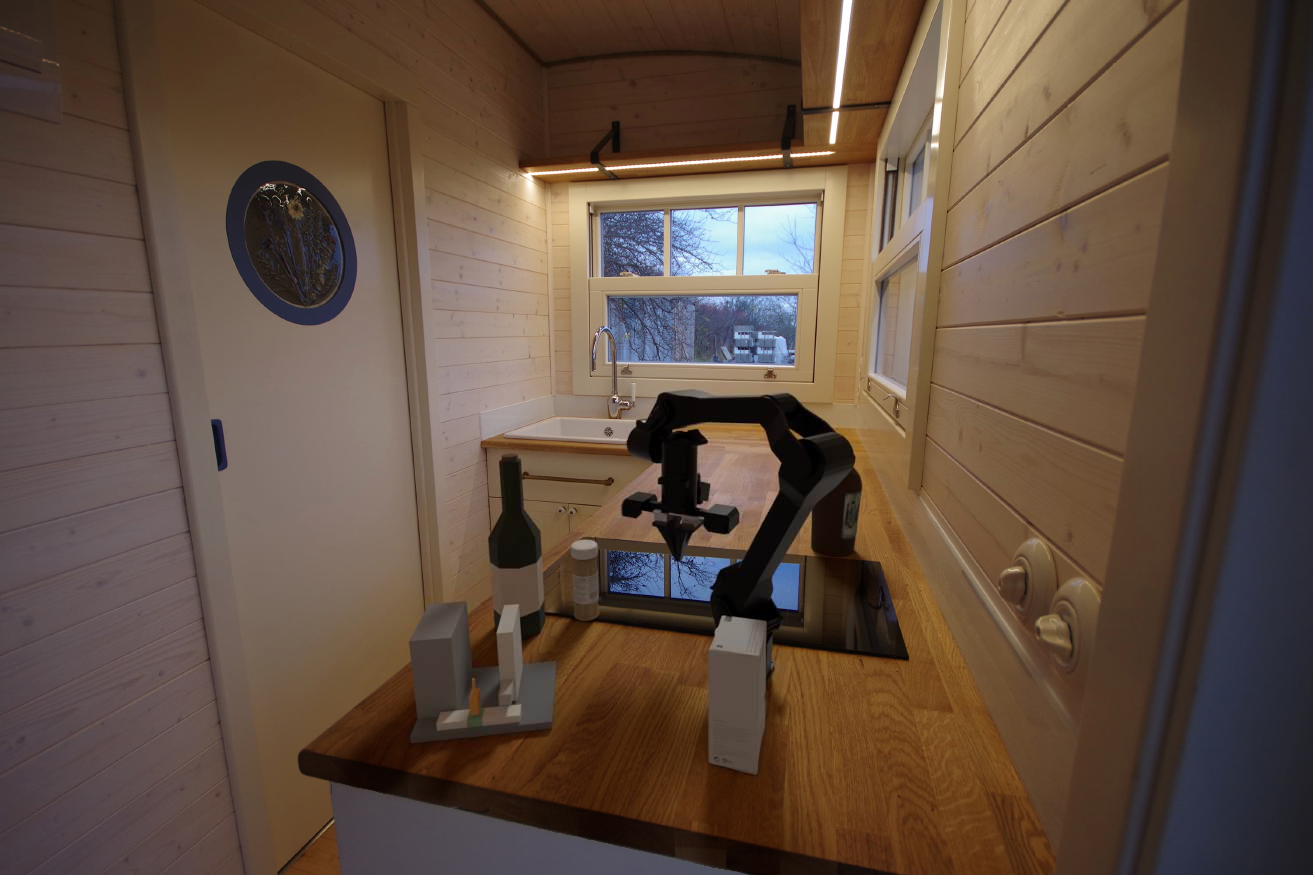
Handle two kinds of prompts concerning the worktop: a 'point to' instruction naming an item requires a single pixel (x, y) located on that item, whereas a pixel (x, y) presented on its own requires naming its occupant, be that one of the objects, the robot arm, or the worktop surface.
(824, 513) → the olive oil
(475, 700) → the orange block with rod
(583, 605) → the sprinkles bottle
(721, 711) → the skincare box
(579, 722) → the worktop surface
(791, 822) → the worktop surface
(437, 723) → the base
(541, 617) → the wine bottle
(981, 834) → the worktop surface
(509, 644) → the white tall block
